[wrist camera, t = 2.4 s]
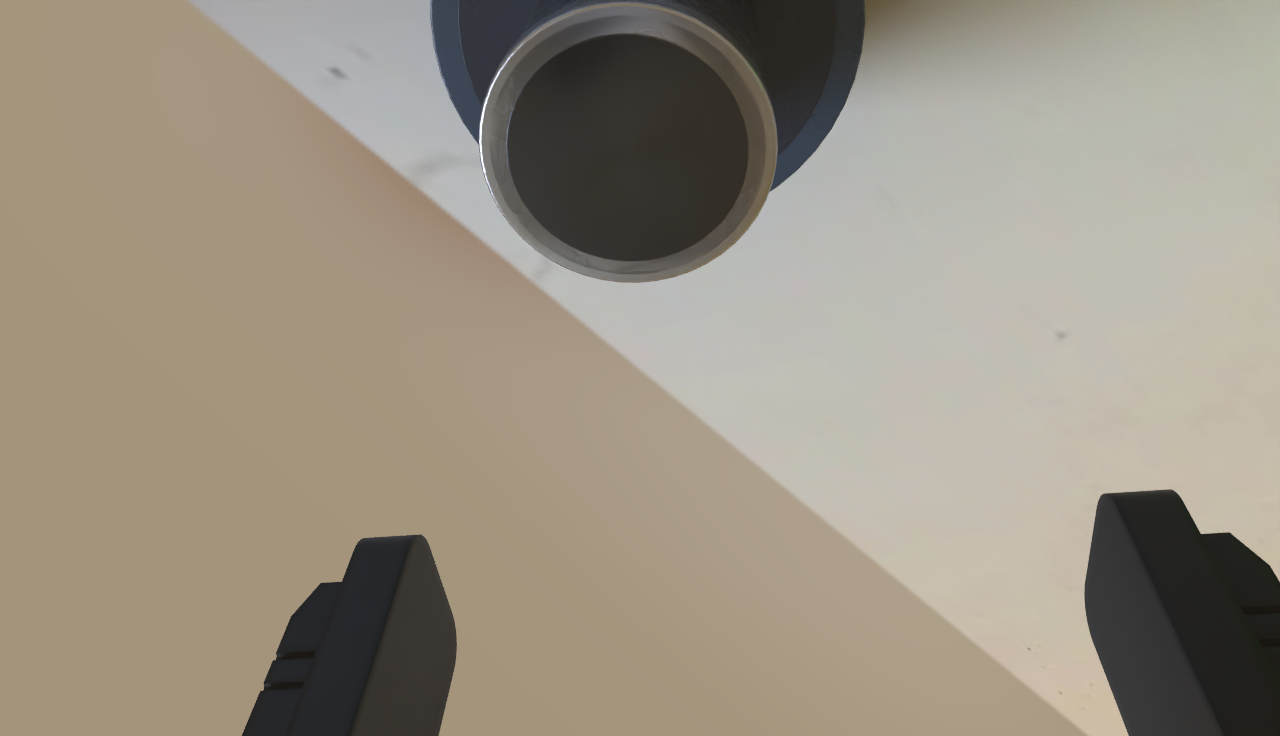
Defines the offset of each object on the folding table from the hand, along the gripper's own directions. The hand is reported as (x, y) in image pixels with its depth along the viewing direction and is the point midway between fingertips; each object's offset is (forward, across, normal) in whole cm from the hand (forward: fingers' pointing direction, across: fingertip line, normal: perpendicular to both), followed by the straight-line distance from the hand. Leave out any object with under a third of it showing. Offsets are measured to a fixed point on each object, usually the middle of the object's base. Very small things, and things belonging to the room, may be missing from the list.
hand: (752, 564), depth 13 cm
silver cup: (+17, +2, -1) cm, 17 cm away
